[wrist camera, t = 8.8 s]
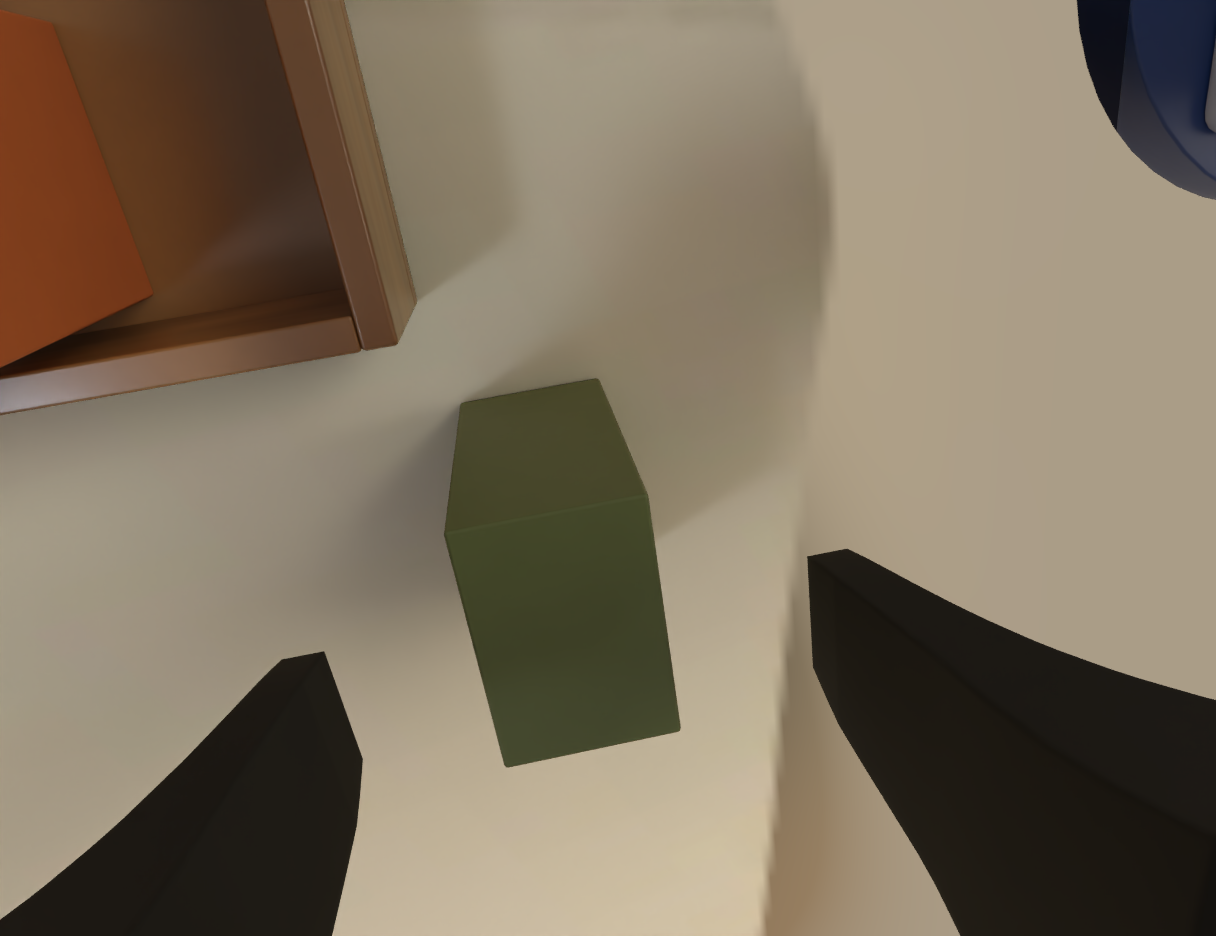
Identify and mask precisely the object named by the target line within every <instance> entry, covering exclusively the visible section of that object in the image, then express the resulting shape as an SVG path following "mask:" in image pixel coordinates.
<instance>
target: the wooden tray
mask: <svg viewBox="0 0 1216 936" xmlns="http://www.w3.org/2000/svg"><path fill="white" fill-rule="evenodd" d="M0 10H4V11H8V12H12V13H16V14H20V15H24V16H28V17H32V18H36V19H40V20H44V21H48V22H51V23H52V25H53V27H54V29H55V32H56V35H57V37H58V40H59V43H60V45H61V48H62V51H63V53H64V56H65V59H66V61H67V64H68V67H69V69H70V72H71V75H72V77H73V80H74V83H75V85H76V88H77V91H78V93H79V96H80V99H81V101H82V104H83V107H84V109H85V112H86V115H87V117H88V120H89V123H90V125H91V128H92V131H93V133H94V136H95V139H96V141H97V144H98V147H99V149H100V152H101V155H102V157H103V160H104V163H105V165H106V168H107V170H108V173H109V176H110V178H111V181H112V184H113V186H114V189H115V192H116V194H117V197H118V200H119V202H120V205H121V208H122V210H123V213H124V216H125V218H126V221H127V224H128V226H129V229H130V232H131V234H132V237H133V240H134V242H135V245H136V248H137V250H138V253H139V256H140V258H141V261H142V264H143V266H144V269H145V272H146V274H147V277H148V280H149V282H150V285H151V288H152V290H153V295H152V296H151V297H149V298H147V299H145V300H142V301H140V302H138V303H136V304H134V305H132V306H130V307H128V308H126V309H123V310H121V311H119V312H117V313H115V314H113V315H111V316H109V317H107V318H104V319H102V320H100V321H98V322H96V323H94V324H92V325H90V326H88V327H85V328H83V329H81V330H79V331H77V332H75V333H73V334H71V335H69V336H66V337H64V338H62V339H60V340H58V341H56V342H54V343H52V344H50V345H47V346H45V347H43V348H41V349H39V350H37V351H35V352H33V353H31V354H28V355H26V356H24V357H22V358H20V359H18V360H16V361H14V362H12V363H9V364H7V365H5V366H3V367H1V368H0V415H5V414H10V413H16V412H22V411H27V410H33V409H39V408H44V407H50V406H56V405H62V404H67V403H73V402H79V401H84V400H90V399H96V398H101V397H107V396H113V395H118V394H124V393H130V392H135V391H141V390H147V389H152V388H158V387H164V386H170V385H175V384H181V383H187V382H192V381H198V380H204V379H209V378H215V377H221V376H226V375H232V374H238V373H243V372H249V371H255V370H260V369H266V368H272V367H278V366H283V365H289V364H295V363H300V362H306V361H312V360H317V359H323V358H329V357H334V356H340V355H346V354H351V353H357V352H360V351H361V350H362V349H363V350H373V349H378V348H384V347H390V346H395V345H397V344H398V342H399V340H400V338H401V336H402V333H403V331H404V329H405V327H406V325H407V323H408V321H409V318H410V316H411V314H412V312H413V310H414V307H415V306H416V304H417V297H416V293H415V289H414V285H413V281H412V277H411V273H410V269H409V265H408V261H407V257H406V252H405V248H404V244H403V240H402V236H401V232H400V228H399V224H398V220H397V216H396V212H395V208H394V203H393V199H392V195H391V191H390V187H389V183H388V179H387V175H386V171H385V167H384V163H383V158H382V154H381V150H380V146H379V142H378V138H377V134H376V130H375V126H374V122H373V118H372V114H371V109H370V105H369V101H368V97H367V93H366V89H365V85H364V81H363V77H362V73H361V69H360V64H359V60H358V56H357V52H356V48H355V44H354V40H353V36H352V32H351V28H350V24H349V20H348V15H347V11H346V7H345V3H344V0H0Z"/></svg>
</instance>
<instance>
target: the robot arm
mask: <svg viewBox="0 0 1216 936" xmlns="http://www.w3.org/2000/svg"><path fill="white" fill-rule="evenodd" d="M1205 121H1206V123H1207V125H1208V127H1209V129H1211V130H1212V131H1214V132H1215V133H1216V40H1215V46H1214V53H1213V60H1212V67H1211V74H1210V81H1209V88H1208V95H1207V101H1206V108H1205ZM807 558H808V578H809V597H810V617H811V637H812V657H813V668H814V670H815V673H816V675H817V677H818V680H819V682H820V684H821V686H822V689H823V691H824V693H825V696H826V698H827V700H828V702H829V705H830V707H831V709H832V711H833V713H834V715H835V718H836V720H837V722H838V724H839V726H840V727H841V729H842V731H843V733H844V734H845V736H846V738H847V739H848V741H849V742H850V744H851V746H852V747H853V749H854V751H855V752H856V754H857V756H858V757H859V759H860V761H861V762H862V764H863V766H864V767H865V769H866V771H867V772H868V773H869V775H870V777H871V779H872V780H873V782H874V783H875V785H876V787H877V788H878V790H879V792H880V793H881V795H882V796H883V798H884V800H885V801H886V803H887V804H888V806H889V808H890V809H891V811H892V813H893V814H894V816H895V817H896V819H897V821H898V822H899V824H900V825H901V827H902V828H903V830H904V832H905V834H906V835H907V837H908V838H909V840H910V842H911V843H912V845H913V846H914V848H915V850H916V851H917V853H918V854H919V856H920V858H921V860H922V862H923V864H924V865H925V867H926V869H927V870H928V872H929V874H930V876H931V878H932V880H933V881H934V883H935V885H936V887H937V889H938V891H939V893H940V895H941V897H942V899H943V901H944V903H945V905H946V907H947V909H948V911H949V913H950V915H951V917H952V919H953V921H954V924H955V926H956V927H957V930H958V932H959V933H960V936H1216V700H1214V699H1209V698H1206V697H1202V696H1198V695H1195V694H1191V693H1188V692H1184V691H1181V690H1177V689H1173V688H1170V687H1167V686H1163V685H1159V684H1156V683H1153V682H1149V681H1146V680H1142V679H1139V678H1136V677H1133V676H1130V675H1127V674H1124V673H1121V672H1117V671H1114V670H1111V669H1108V668H1105V667H1103V666H1100V665H1097V664H1095V663H1092V662H1089V661H1086V660H1083V659H1080V658H1078V657H1075V656H1072V655H1070V654H1067V653H1064V652H1061V651H1059V650H1056V649H1053V648H1051V647H1048V646H1046V645H1043V644H1041V643H1038V642H1036V641H1034V640H1031V639H1029V638H1027V637H1024V636H1022V635H1020V634H1017V633H1015V632H1013V631H1011V630H1008V629H1006V628H1004V627H1002V626H999V625H997V624H995V623H993V622H990V621H988V620H986V619H984V618H982V617H980V616H977V615H976V614H973V613H971V612H969V611H967V610H965V609H963V608H961V607H959V606H957V605H955V604H953V603H951V602H949V601H947V600H945V599H943V598H941V597H939V596H937V595H935V594H933V593H931V592H929V591H927V590H926V589H923V588H922V587H920V586H918V585H916V584H914V583H912V582H910V581H909V580H907V579H905V578H903V577H901V576H899V575H897V574H895V573H894V572H892V571H890V570H888V569H886V568H884V567H882V566H880V565H878V564H877V563H875V562H873V561H871V560H869V559H867V558H865V557H863V556H861V555H859V554H857V553H855V552H853V551H851V550H849V549H843V550H838V551H833V552H828V553H823V554H818V555H813V556H808V557H807ZM362 762H363V758H362V756H361V753H360V750H359V747H358V744H357V742H356V739H355V736H354V733H353V731H352V728H351V725H350V722H349V719H348V717H347V714H346V711H345V708H344V705H343V703H342V700H341V697H340V694H339V691H338V689H337V686H336V683H335V680H334V677H333V675H332V672H331V669H330V666H329V664H328V661H327V658H326V655H325V652H324V651H323V652H318V653H313V654H308V655H303V656H298V657H293V658H288V659H283V660H281V661H280V662H279V663H278V664H277V665H276V666H274V667H273V668H272V669H271V670H270V671H269V672H268V673H267V674H266V675H265V676H264V677H263V678H262V679H261V680H260V681H259V682H258V683H257V684H256V685H255V687H254V688H253V689H252V690H251V691H250V692H249V693H248V694H247V695H246V696H245V697H244V698H243V699H242V700H241V701H240V702H239V703H238V704H237V705H236V707H235V708H234V709H233V710H232V711H231V712H230V713H229V714H228V715H227V716H226V717H225V718H224V719H223V720H222V721H221V722H220V723H219V724H218V725H217V726H216V728H215V729H214V730H213V731H212V732H211V733H210V734H209V735H208V736H207V737H206V738H205V739H204V740H203V741H202V742H201V743H200V744H199V745H198V746H197V747H196V748H195V749H194V750H193V751H192V752H191V753H190V755H189V756H188V757H187V758H186V759H185V760H184V761H183V762H182V763H181V764H180V765H179V766H178V767H176V768H175V769H174V770H173V771H172V772H171V773H170V774H169V775H168V776H167V777H166V778H165V779H164V780H163V781H162V782H161V783H160V784H159V785H158V786H157V787H156V788H155V789H154V790H153V791H152V792H151V793H149V794H148V795H147V796H146V797H145V798H144V799H143V800H142V801H141V802H140V803H139V804H138V805H137V806H136V807H135V808H134V809H133V810H132V811H131V812H130V813H129V814H128V815H127V816H126V817H125V818H123V819H122V820H121V821H120V822H119V823H118V824H117V825H116V826H115V827H114V828H112V829H111V830H110V831H109V832H108V833H107V834H106V835H105V836H103V837H102V838H101V839H100V840H99V841H98V842H97V843H95V844H94V845H93V846H92V847H91V848H90V849H89V850H87V851H86V852H85V853H84V854H83V855H81V856H80V857H79V858H78V859H77V860H75V861H74V862H73V863H72V864H71V865H69V866H68V867H67V868H66V869H65V870H63V871H62V872H61V873H60V874H58V875H57V876H56V877H55V878H54V879H52V880H51V881H50V882H49V883H48V884H46V885H45V886H44V887H43V888H41V889H40V890H39V891H38V892H36V893H35V894H34V895H33V896H31V897H30V898H29V899H27V900H26V901H25V902H23V903H22V904H21V905H19V906H18V907H17V908H15V909H14V910H13V911H11V912H10V913H9V914H7V915H6V916H5V917H3V918H2V919H0V936H332V933H333V929H334V925H335V920H336V916H337V912H338V907H339V903H340V899H341V895H342V890H343V886H344V882H345V877H346V873H347V868H348V864H349V859H350V855H351V850H352V846H353V841H354V836H355V831H356V827H357V818H358V809H359V799H360V788H361V775H362Z"/></svg>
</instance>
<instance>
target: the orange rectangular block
mask: <svg viewBox="0 0 1216 936" xmlns="http://www.w3.org/2000/svg"><path fill="white" fill-rule="evenodd" d="M152 295H153V290H152V288H151V285H150V282H149V280H148V277H147V274H146V272H145V269H144V266H143V264H142V261H141V258H140V256H139V253H138V250H137V248H136V245H135V242H134V240H133V237H132V234H131V232H130V229H129V226H128V224H127V221H126V218H125V216H124V213H123V210H122V208H121V205H120V202H119V200H118V197H117V194H116V192H115V189H114V186H113V184H112V181H111V178H110V176H109V173H108V170H107V168H106V165H105V163H104V160H103V157H102V155H101V152H100V149H99V147H98V144H97V141H96V139H95V136H94V133H93V131H92V128H91V125H90V123H89V120H88V117H87V115H86V112H85V109H84V107H83V104H82V101H81V99H80V96H79V93H78V91H77V88H76V85H75V83H74V80H73V77H72V75H71V72H70V69H69V67H68V64H67V61H66V59H65V56H64V53H63V51H62V48H61V45H60V43H59V40H58V37H57V35H56V32H55V29H54V27H53V25H52V23H51V22H48V21H44V20H40V19H36V18H32V17H28V16H24V15H20V14H16V13H12V12H8V11H4V10H0V368H1V367H3V366H5V365H7V364H9V363H12V362H14V361H16V360H18V359H20V358H22V357H24V356H26V355H28V354H31V353H33V352H35V351H37V350H39V349H41V348H43V347H45V346H47V345H50V344H52V343H54V342H56V341H58V340H60V339H62V338H64V337H66V336H69V335H71V334H73V333H75V332H77V331H79V330H81V329H83V328H85V327H88V326H90V325H92V324H94V323H96V322H98V321H100V320H102V319H104V318H107V317H109V316H111V315H113V314H115V313H117V312H119V311H121V310H123V309H126V308H128V307H130V306H132V305H134V304H136V303H138V302H140V301H142V300H145V299H147V298H149V297H151V296H152Z"/></svg>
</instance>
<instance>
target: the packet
mask: <svg viewBox="0 0 1216 936" xmlns="http://www.w3.org/2000/svg"><path fill="white" fill-rule="evenodd" d="M444 537H445V540H446V544H447V548H448V552H449V556H450V559H451V563H452V567H453V571H454V575H455V578H456V582H457V586H458V590H459V594H460V598H461V601H462V605H463V609H464V613H465V617H466V620H467V624H468V628H469V632H470V636H471V639H472V643H473V647H474V651H475V655H476V658H477V662H478V666H479V670H480V674H481V678H482V681H483V685H484V689H485V693H486V697H487V700H488V704H489V708H490V712H491V716H492V719H493V723H494V727H495V731H496V735H497V739H498V742H499V746H500V750H501V754H502V758H503V761H504V765H505V766H506V767H513V766H518V765H522V764H527V763H532V762H537V761H541V760H546V759H551V758H556V757H560V756H565V755H570V754H575V753H579V752H584V751H589V750H594V749H598V748H603V747H608V746H613V745H617V744H622V743H627V742H632V741H636V740H641V739H646V738H650V737H655V736H660V735H665V734H669V733H674V732H678V731H680V728H681V727H680V719H679V712H678V705H677V698H676V691H675V684H674V677H673V670H672V662H671V655H670V648H669V641H668V634H667V627H666V620H665V612H664V605H663V598H662V591H661V584H660V577H659V570H658V563H657V555H656V548H655V541H654V534H653V527H652V520H651V513H650V505H649V498H648V494H647V492H646V489H645V487H644V485H643V482H642V480H641V478H640V475H639V473H638V471H637V468H636V466H635V463H634V461H633V459H632V456H631V454H630V452H629V449H628V447H627V445H626V442H625V440H624V437H623V435H622V433H621V430H620V428H619V426H618V423H617V421H616V419H615V416H614V414H613V411H612V409H611V407H610V404H609V402H608V400H607V397H606V395H605V393H604V390H603V388H602V385H601V383H600V381H599V379H592V380H586V381H581V382H575V383H570V384H564V385H559V386H553V387H548V388H542V389H537V390H531V391H526V392H520V393H515V394H509V395H504V396H498V397H493V398H487V399H482V400H476V401H471V402H465V403H462V404H461V405H460V412H459V420H458V428H457V436H456V444H455V452H454V460H453V468H452V476H451V484H450V491H449V499H448V507H447V515H446V523H445V531H444Z"/></svg>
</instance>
